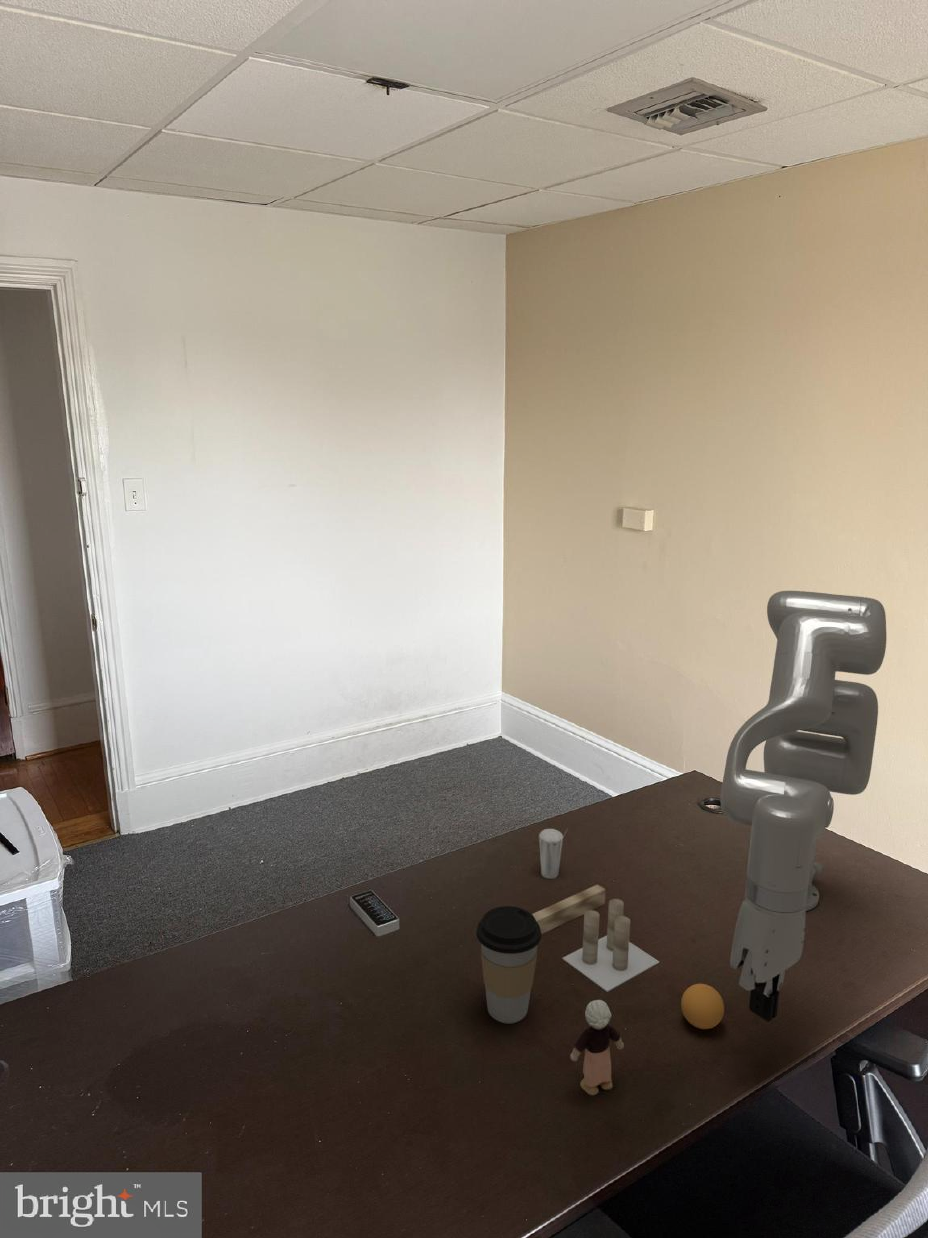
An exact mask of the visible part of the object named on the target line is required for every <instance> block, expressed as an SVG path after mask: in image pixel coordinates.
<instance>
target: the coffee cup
mask: <svg viewBox="0 0 928 1238" xmlns="http://www.w3.org/2000/svg"><path fill="white" fill-rule="evenodd" d="M532 914H533V913H531V912H529V911H528V910H526V909H524V908H522V907H517V906H511V905H503V906H497V907H494V908H491V909H489V910H488V911H486V912H485V914H484V915H483V916H482V918H481V919H480V921H479V922H478V924H477V928H476V932H475V933H476V938H477V940H478V942H479V943H480V945H481V946H480V957H481V966H482V967H481V968H482V977H483V984H484V988H485V996H486V998H485V999H486V1006H487V1011H488V1012H487V1013H488V1014H489V1016H491V1017H492V1018H493V1019H494V1020H496V1021H497V1022H500V1023H503V1024H507V1025H508V1024H510V1025H511V1024H515V1023H517V1022H520V1021H521V1020H523V1019H525V1017H526V1016H527V1014H528V1010H529V1003H530V999H531V996H530V995H531V990H532V987H533V985H534V984H533V983H534V979H535V977H534V976H535V972H536V971H535V970H536V965H537V964H536V962H537V957H538V956H537V955H538V945H539V943H540V942H541V940H542V934H541V929H540V926H539V924H538V923H537V921H536V920H535V918H534V916H533V915H532Z"/></svg>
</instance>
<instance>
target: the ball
mask: <svg viewBox="0 0 928 1238" xmlns="http://www.w3.org/2000/svg"><path fill="white" fill-rule="evenodd" d="M724 1004H725V1003H724V999H723V997H722V996H721V994H720V993H719V992H718V991H717V990H716V989H715V988H714V987H713V986H710V985H708V984H706V983H695V984H692V985H690V986H689V987H688V988H686V990H685V991H684V993H683V994H682V997H681V1005H680V1007H681V1011H682V1014H683V1016H684V1018H685V1020H686V1021H687V1022H688V1023H689V1024H691V1026H693V1027H695V1028H697V1029H701V1030H708V1029H713V1028H715V1027H716V1026H717V1025H718V1024H720V1023H721V1021H722V1019H723V1017H724V1013H725V1005H724Z"/></svg>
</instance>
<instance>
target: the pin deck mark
mask: <svg viewBox="0 0 928 1238" xmlns="http://www.w3.org/2000/svg"><path fill="white" fill-rule="evenodd" d="M606 946H607V935H604V936H603V937H601V938H598V954H597V962H596V963H595V964H593V965H589V964H586V963H584V962H583V961H582V953H583V947H581V948H578V949H577V950H575V951H573V952H571V953H569V954H567V955H566V956H563V957H562V960H563V961H565V962H566V963H567V964H568V965H569V966H571V967H572V968H574V969H575V970H576V971H578V972H579V973H581V974H582V975H583V976H585V977H586V978H587V979H589V980H591V981H592V982H593V983H594V984H596V985H597V986H599V988H601V989H602V990H604V992H607V993H608V992H610V991H612V990H613V989H616V988H617V987H619V986H620V985H623V984H624V983H626V982H627V981H629V980H631V979H633V978H635V977H637V976H638V975H640V974H642V973H644V972H646V971H648V970H649V969H651V968H652V967H654V966H657V964H660V960H657V959H656V958H654V957H653V956H651V955H650V954H648V953H647V952H645V951H644V950H643V949H641V948H639V947H638V946H637V945H635V944H634V943H632V942H630V941H629V952H628V967H627V969H626V970H624V971H618V970H616V969H614V968H613V966H612V963H613V952H612V951H610V950H608V949H607V947H606Z"/></svg>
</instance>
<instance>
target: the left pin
mask: <svg viewBox="0 0 928 1238" xmlns="http://www.w3.org/2000/svg"><path fill="white" fill-rule="evenodd" d="M583 915H584V916H583V917H584V918H583V935H582V936H583V937H582V948H583V953H582V961H583V962H584V963H586V964H589V965H593V964H595V963H596V962H597V954H598V940H599V931H600V930H599V929H600V913H599V912H598V911H596V910H589V911H586V912H585V913H584V914H583Z"/></svg>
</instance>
